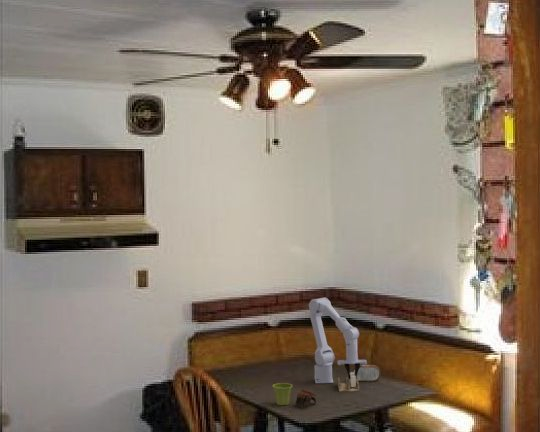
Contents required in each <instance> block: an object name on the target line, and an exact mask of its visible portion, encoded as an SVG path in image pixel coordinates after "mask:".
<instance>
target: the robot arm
mask: <svg viewBox="0 0 540 432" xmlns="http://www.w3.org/2000/svg"><path fill="white" fill-rule="evenodd" d="M331 303H332V302H331V301H330V300H329V299H328V298H327V297H325V296H324V297H320V298H313V299H311V300H310V301H309V303H308V308H309V317H310V321H311V325H312V330H313V334H314V339H315V343H316V350H315V351H314V355H315V356H314V361H315V363H316V364H314V376H313V379H314V382H315V384H334V380H333V363H334V361H335V358H336V357H335V353H334V351H333V348H332V347H331V346H329V345H328V342H327V337H326V333H325V330H324V329H325V328H324V326H323V325H324V323H323V321H322V314H323V313H325V314H327V315H328V316H329V317H330V318H331V319H332V320H333V321H334V322H335V326H336V327H337V328H338V329H339V330H340V332H341V333H342V336H343V339H344V342H345V354H346V355H345V356H346V357H345V359H340V360H337V365H338V366H341V365H343V366H344V367H345V369H346V372H347V377H348V379H350V372H351V366H350V365H354V367H355V376H356V379H357V373H358V370H359V368H360V365H368V362H367V359H359V356H358V339H359V337H360V331H359V329H358V328H357V327H354V326H353V325H351V324H350V323H349V322H348V320H347V319H346V318H345V317H341V316H340V315H339V313H338V312H337V311H336V310H335V308H334V307H333V306H332V304H331Z"/></svg>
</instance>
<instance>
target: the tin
mask: <svg viewBox="0 0 540 432" xmlns="http://www.w3.org/2000/svg"><path fill="white" fill-rule="evenodd" d="M351 372H354V373H355V366H353V367H352V370H351ZM380 377H381V369H380V367H379V366H377V365H375V364H360V368H359V370H358V373H357V379H358V382H376V381H378V380H379V379H380Z"/></svg>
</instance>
